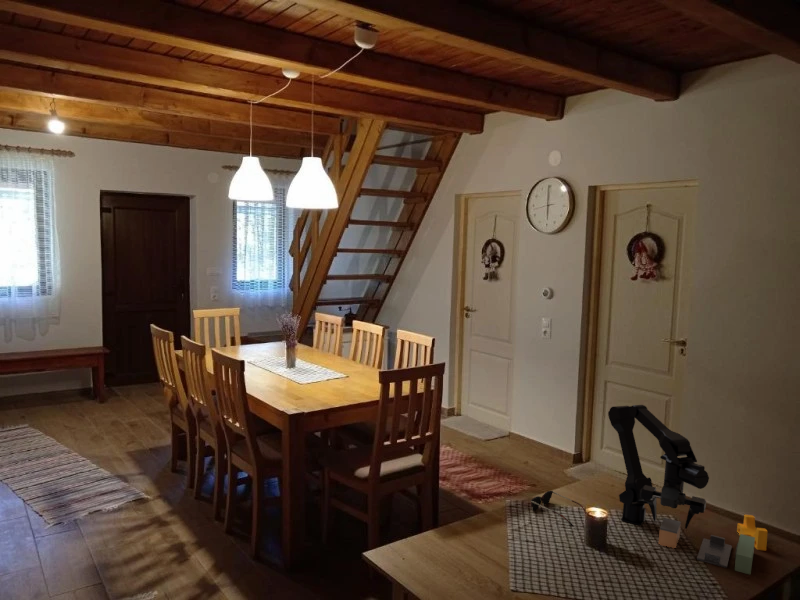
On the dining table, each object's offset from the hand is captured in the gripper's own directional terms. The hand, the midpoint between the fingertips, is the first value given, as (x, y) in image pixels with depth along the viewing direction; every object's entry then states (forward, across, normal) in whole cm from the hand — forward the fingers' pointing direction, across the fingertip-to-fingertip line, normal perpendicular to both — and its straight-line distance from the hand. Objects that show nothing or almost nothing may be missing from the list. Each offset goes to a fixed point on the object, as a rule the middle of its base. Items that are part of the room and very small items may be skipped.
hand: (670, 524), depth 195 cm
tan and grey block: (+6, 0, 0) cm, 6 cm away
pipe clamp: (+6, +22, +17) cm, 28 cm away
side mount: (+5, +13, 0) cm, 14 cm away
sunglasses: (+6, -34, -2) cm, 35 cm away
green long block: (+5, +21, 0) cm, 22 cm away
